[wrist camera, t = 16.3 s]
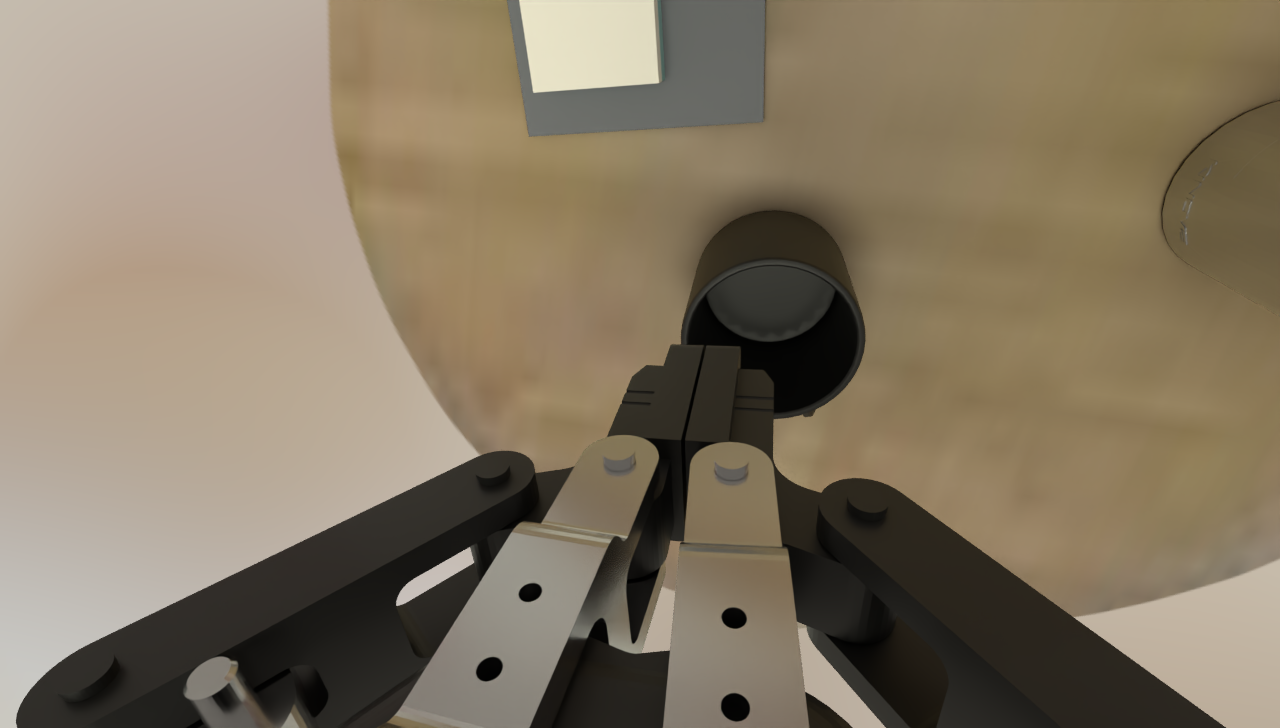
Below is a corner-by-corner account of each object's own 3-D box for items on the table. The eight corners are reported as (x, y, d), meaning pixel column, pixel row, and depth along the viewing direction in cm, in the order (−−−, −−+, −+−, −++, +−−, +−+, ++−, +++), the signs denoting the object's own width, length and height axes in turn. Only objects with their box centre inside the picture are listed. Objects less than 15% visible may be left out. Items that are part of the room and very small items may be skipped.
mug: (741, 392, 43) (736, 472, 36) (673, 243, 39) (651, 298, 31) (875, 351, 40) (901, 430, 32) (817, 183, 36) (832, 228, 28)
